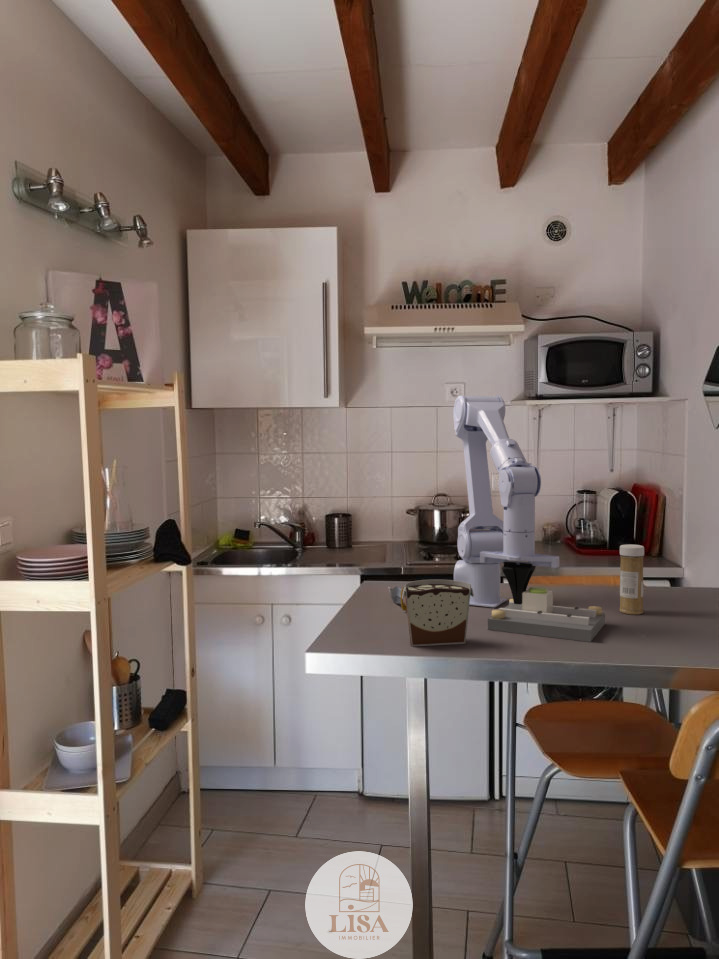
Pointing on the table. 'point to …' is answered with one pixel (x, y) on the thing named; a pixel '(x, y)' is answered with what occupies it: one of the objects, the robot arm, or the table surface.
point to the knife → (398, 596)
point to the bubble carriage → (537, 600)
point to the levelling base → (549, 622)
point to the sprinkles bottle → (631, 579)
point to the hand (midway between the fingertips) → (518, 603)
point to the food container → (437, 611)
